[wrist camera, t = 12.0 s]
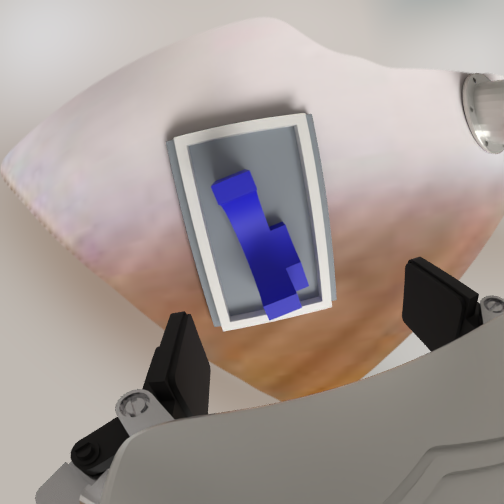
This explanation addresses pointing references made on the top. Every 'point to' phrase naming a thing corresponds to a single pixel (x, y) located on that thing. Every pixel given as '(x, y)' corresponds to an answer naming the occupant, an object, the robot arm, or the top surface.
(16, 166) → the top surface
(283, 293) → the blue long irregular block
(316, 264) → the shallow rectangular tray
